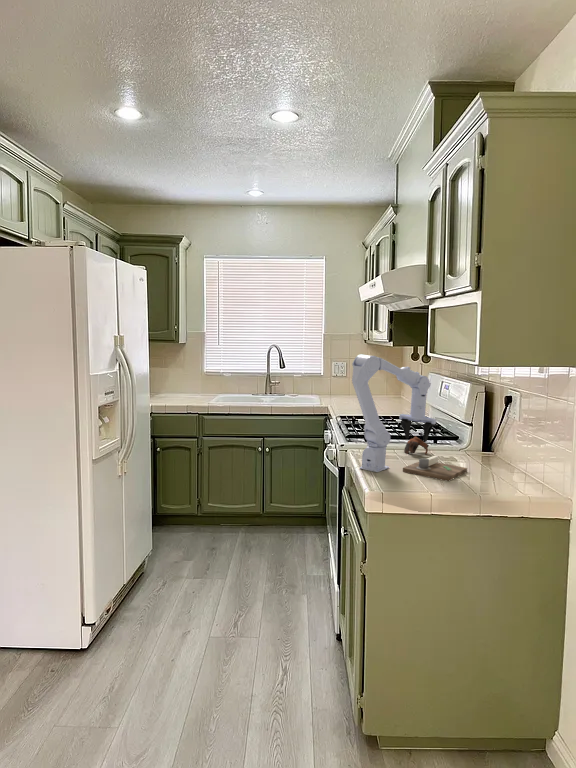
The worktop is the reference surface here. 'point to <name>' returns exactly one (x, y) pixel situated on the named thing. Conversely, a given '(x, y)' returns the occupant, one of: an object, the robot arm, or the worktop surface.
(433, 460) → the peg lever
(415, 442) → the pottery mug
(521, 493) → the worktop surface
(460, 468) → the brown flat square board
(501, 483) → the worktop surface
